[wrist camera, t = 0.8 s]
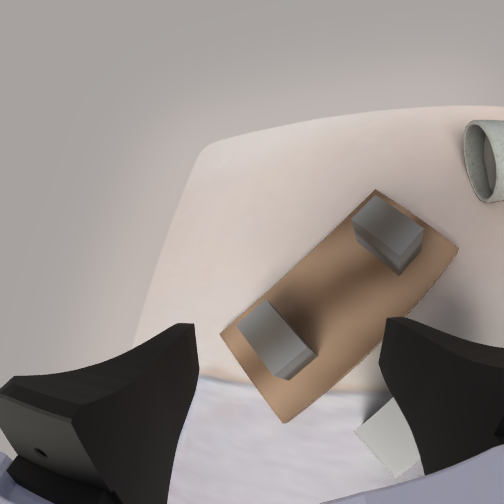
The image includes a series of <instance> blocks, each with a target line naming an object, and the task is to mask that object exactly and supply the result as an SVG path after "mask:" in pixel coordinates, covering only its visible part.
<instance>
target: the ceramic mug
mask: <svg viewBox="0 0 504 504" xmlns="http://www.w3.org/2000/svg"><path fill="white" fill-rule="evenodd" d="M464 157H465V163H466V169H467V173H468V176H469V179H470V182H471V185H472V187H473V189H474V192H475V193H476V195H477V196H478V198H479V199H480V200H481V201H483V202H485V203H492V202H497V201H503V200H504V121H497V120H474V121H471V122H469V123H468V125H467V126H466V129H465V133H464Z"/></svg>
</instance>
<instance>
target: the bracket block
mask: <svg viewBox="0 0 504 504" xmlns="http://www.w3.org/2000/svg"><path fill="white" fill-rule="evenodd" d="M354 433H355V434H356V435H357V436H358V438H359V439H360V440H361V441H362V442H363V443H364V444H365V445H366V447H367V448H368V449H369V450H370V451H371V452H372V453H373V454H374V455H375V457H376V458H377V459H378V460H379V461H380V462H381V463H382V464H383V465H384V466H385V468H386V469H387V470H388V471H389V472H390V473H391V474H392V475H393V476H394V477H395V478H396V479H397V478H398V477H399V476H400V475H402V474H403V473H404V472H405V471H407V470H408V469H409V468H410V467H412V466H413V465H414V464H415V463H416V462H417V461H419V460H420V459H421V458H420V455H419V451H418V448H417V445H416V443H415V440H414V437H413V434H412V431H411V429H410V427H409V425H408V423H407V421H406V419H405V417H404V415H403V413H402V412H401V410H400V408H399V406H398V404H397V402H396V401H395V399H394V397H393V398H391V399H390V400H389V401H388V402H387V403H386V404H385V405H384V406H383V407H382V408H381V409H379V410H378V411H377V412H376V413H375V414H374V415H373V416H371V417H370V418H369V419H368V420H367V421H366V422H364V423H363V424H362V425H361V426H360V427H359V428H357V429H356V430H355V431H354Z"/></svg>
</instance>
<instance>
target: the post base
mask: <svg viewBox="0 0 504 504" xmlns="http://www.w3.org/2000/svg"><path fill="white" fill-rule="evenodd" d="M458 249H459V248H458V247H457V246H456V245H454V244H453V243H452V242H450V241H449V240H448V239H446V238H445V237H444V236H442V235H441V234H440V233H438V232H437V231H436V230H434V229H433V228H432V227H430V226H429V225H428V224H426V223H425V222H423V221H422V220H421V219H419V218H418V217H416V216H415V215H413V214H412V213H410V212H409V211H408V210H406V209H405V208H403V207H402V206H400V205H399V204H397V203H396V202H394V201H393V200H391V199H390V198H388V197H387V196H385V195H383V194H382V193H380V192H379V191H377V190H376V189H375V190H374V191H373V192H372V193H371V194H370V195H369V196H368V197H367V198H366V199H365V200H364V201H363V202H362V203H361V204H360V205H359V206H358V207H357V208H356V209H355V210H354V211H353V212H352V213H351V214H350V215H349V216H348V217H347V218H346V219H345V220H344V221H343V222H342V223H341V224H340V225H339V226H337V227H336V228H335V229H334V230H333V231H332V232H331V233H330V234H329V235H328V236H327V237H326V238H325V239H324V240H323V241H322V242H321V243H320V244H319V245H317V246H316V247H315V248H314V249H313V250H312V251H311V252H310V253H309V254H308V255H307V256H306V257H305V258H304V259H303V260H301V261H300V262H299V263H298V264H297V265H296V266H295V267H294V268H293V269H292V270H291V271H290V272H288V273H287V274H286V275H285V276H284V277H283V278H282V279H281V280H280V281H279V282H277V283H276V284H275V285H274V286H273V287H272V288H271V289H270V290H269V291H268V292H266V293H265V294H264V295H263V296H262V297H261V298H260V299H259V300H258V301H256V302H255V303H254V304H253V305H252V306H251V307H250V308H249V309H247V310H246V311H245V312H244V313H243V314H242V315H241V316H239V317H238V318H237V319H236V320H235V321H234V322H233V323H231V324H230V325H229V326H228V327H227V328H226V329H225V330H223V331H222V332H221V333H220V336H221V337H222V339H223V340H224V342H225V343H226V345H227V346H228V348H229V349H230V351H231V352H232V354H233V355H234V357H235V358H236V360H237V361H238V362H239V364H240V365H241V367H242V368H243V370H244V371H245V373H246V374H247V375H248V377H249V378H250V380H251V381H252V382H253V384H254V385H255V387H256V388H257V389H258V391H259V392H260V394H261V395H262V396H263V398H264V399H265V400H266V402H267V403H268V404H269V406H270V407H271V409H272V410H273V411H274V413H275V414H276V415H277V416H278V418H279V419H280V420H281V422H282V423H287V422H289V421H290V420H291V419H293V418H294V417H295V416H297V415H298V414H299V413H301V412H302V411H303V410H305V409H306V408H307V407H308V406H310V405H311V404H312V403H313V402H315V401H316V400H317V399H318V398H320V397H321V396H322V395H323V394H324V393H326V392H327V391H328V390H329V389H330V388H332V387H333V386H334V385H335V384H336V383H337V382H339V381H340V380H341V379H342V378H343V377H344V376H345V375H346V374H348V373H349V372H350V371H351V370H352V369H353V368H354V367H355V366H356V365H357V364H359V363H360V362H361V361H362V360H363V359H364V358H365V357H366V356H367V355H368V354H369V353H370V352H371V351H372V350H373V349H374V348H375V347H376V346H377V345H378V344H379V343H380V342H381V341H382V340H383V337H384V331H385V325H386V319H387V318H391V317H405V316H406V315H407V314H408V313H409V312H410V311H411V310H412V308H413V307H414V306H415V305H416V304H417V303H418V302H419V300H420V299H421V298H422V297H423V296H424V295H425V293H426V292H427V291H428V290H429V289H430V287H431V286H432V285H433V284H434V283H435V281H436V280H437V279H438V278H439V276H440V275H441V274H442V273H443V271H444V270H445V269H446V268H447V266H448V265H449V264H450V262H451V261H452V260H453V258H454V257H455V256H456V254H457V252H458Z"/></svg>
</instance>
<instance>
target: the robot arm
mask: <svg viewBox="0 0 504 504" xmlns="http://www.w3.org/2000/svg"><path fill="white" fill-rule="evenodd" d="M379 366H380V369H381V372H382V374H383V377H384V380H385V382H386V384H387V386H388V388H389V390H390V392H391V393H392V395H393V397H394V399H395V401H396V402H397V404H398V406H399V408H400V410H401V412H402V413H403V415H404V417H405V419H406V421H407V423H408V425H409V427H410V429H411V431H412V434H413V437H414V440H415V443H416V445H417V448H418V451H419V455H420V458H421V462H422V465H423V469H424V473H425V476H423V477H420V478H417V479H413V480H410V481H407V482H403V483H399V484H396V485H392V486H388V487H384V488H380V489H375V490H371V491H366V492H361V493H357V494H354V495H350V496H347V497H343V498H339V499H335V500H331V501H327V502H323V503H320V504H504V348H499V347H493V346H487V345H483V344H479V343H475V342H471V341H467V340H464V339H461V338H458V337H455V336H452V335H450V334H447V333H444V332H442V331H439V330H437V329H434V328H432V327H429V326H427V325H424V324H422V323H419V322H417V321H414V320H411V319H408V318H404V317H391V318H387V319H386V325H385V331H384V337H383V342H382V348H381V353H380V358H379ZM198 375H199V362H198V354H197V346H196V337H195V327H194V324H189V323H177V324H175V325H173V326H171V327H170V328H168V329H166V330H165V331H163V332H161V333H160V334H158V335H156V336H155V337H153V338H151V339H150V340H148V341H146V342H145V343H143V344H141V345H139V346H137V347H135V348H133V349H132V350H130V351H128V352H126V353H124V354H122V355H119V356H117V357H115V358H113V359H110V360H107V361H104V362H102V363H99V364H95V365H92V366H88V367H85V368H81V369H78V370H73V371H68V372H63V373H56V374H48V375H33V376H14V377H13V378H11V379H10V380H9V381H8V382H7V383H6V384H5V385H4V386H3V387H2V388H0V428H1V430H2V431H3V433H4V434H5V436H6V438H7V439H8V441H9V442H10V444H11V445H12V447H13V448H14V450H15V451H16V453H17V454H18V456H17V457H16V458H15V459H14V461H12V460H11V459H10V458H9V457H8V456H7V455H6V454H4V453H3V452H1V451H0V504H167V499H168V492H169V485H170V479H171V473H172V467H173V462H174V457H175V452H176V448H177V443H178V440H179V436H180V433H181V430H182V428H183V425H184V422H185V419H186V416H187V414H188V411H189V408H190V405H191V402H192V399H193V397H194V394H195V391H196V386H197V381H198Z"/></svg>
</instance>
